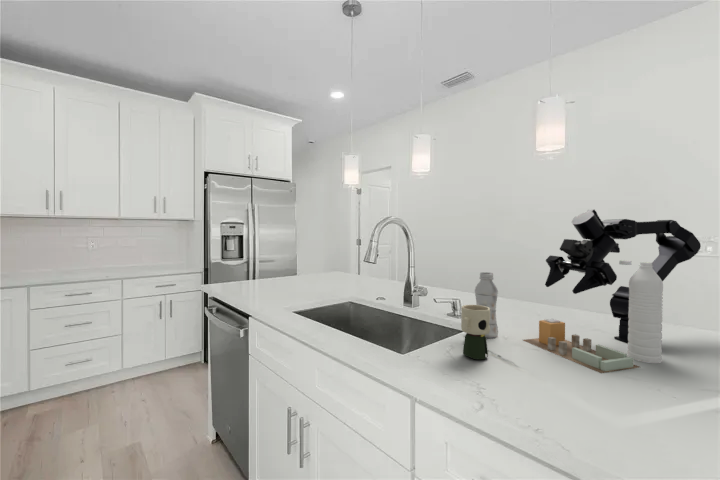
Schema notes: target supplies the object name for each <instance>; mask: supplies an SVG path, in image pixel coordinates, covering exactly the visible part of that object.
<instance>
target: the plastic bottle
mask: <svg viewBox="0 0 720 480" xmlns="http://www.w3.org/2000/svg"><path fill="white" fill-rule="evenodd" d="M479 280H480V281H479V282H478V283H477V284H476V286H475V288H474V293H475V294H474V295H475V296H474V297H475V301H476V302H475V303H476V304H475V305H482V306H486V307H489V308H490V321H489V326H490V332H489V334H485V337H486V339H495V338H497V337H498V336H499V335H498V334H499V329H498V328H499V326H498V324H497V323H498V321H497V300H498V294H499V291H498V287H497V285H495V283H494V282H493V280H494V273H493V272H480V273H479Z"/></svg>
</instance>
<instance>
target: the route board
mask: <svg viewBox="0 0 720 480" xmlns="http://www.w3.org/2000/svg"><path fill="white" fill-rule="evenodd" d="M580 337H581V336H580V335H579V334H577V333H575V334H571V341H570V340H567V339H565V342H564V341H559V345H556V338H554V337H548V345H546V344H544V343H541V342H539V337H537V338H528V339H522V341H523V342H526V343H529V344H531V345H533V346H535V347H538V348H540V349H542V350H544V351H547V352H550V353H551V354H555V355H557V356H559V357H561V358H563V359H566V360H569V361H570V362H573V363H575V364H578V365H580V366H583V367H585V368H587V369H590V370H592V371H594V372H597V373H599V374H605V373H613V372H619V371H625V370H631V369H638V368H640V365H639V366H638V365H637V364H634V363H633V367H630V368H624V369H617V370H610V371H603V370H601V368H600V369H598V368H595V367H593V366H591V365H588V364H586V363H583V362H581V361H578V360H576V359H574V358H572V348H578V349H581V350H583V351H586V352H589V353H591V354H594V355H596V349H593V348H592V339H590V338H588V337H586V338H583V339H582V345H581V344H580ZM597 356H598V355H597ZM599 357H600V356H599ZM604 360H609V359H606V358H603V357H602V361H604Z"/></svg>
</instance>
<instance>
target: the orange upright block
mask: <svg viewBox="0 0 720 480" xmlns="http://www.w3.org/2000/svg"><path fill="white" fill-rule="evenodd" d="M548 337H554V338H556V345H559V341H564V342H565V340H566V322H565V321H564V322H563V321H560V320H557V319H554V318H548V319H546V318H545V319H541V320H538V338H539V342H541V343H544V344H546V345H548Z"/></svg>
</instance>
